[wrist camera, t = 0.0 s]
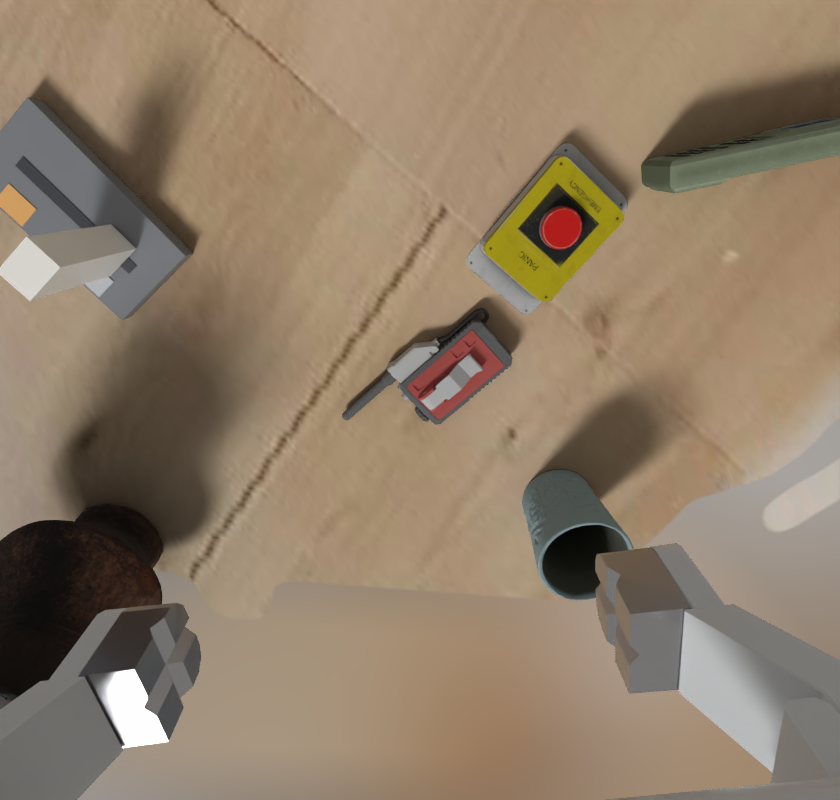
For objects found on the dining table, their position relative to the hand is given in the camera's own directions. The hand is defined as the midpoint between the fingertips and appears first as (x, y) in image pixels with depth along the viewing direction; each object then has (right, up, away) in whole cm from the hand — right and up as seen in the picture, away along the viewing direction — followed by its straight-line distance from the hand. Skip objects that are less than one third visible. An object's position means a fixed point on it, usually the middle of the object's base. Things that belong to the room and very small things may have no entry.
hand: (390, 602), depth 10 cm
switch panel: (-32, +22, +42) cm, 58 cm away
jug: (-39, -14, +58) cm, 71 cm away
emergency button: (+13, +21, +44) cm, 51 cm away
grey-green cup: (+18, -8, +56) cm, 59 cm away
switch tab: (-30, +19, +41) cm, 54 cm away
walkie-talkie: (+1, +6, +50) cm, 50 cm away
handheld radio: (+35, +28, +41) cm, 61 cm away
